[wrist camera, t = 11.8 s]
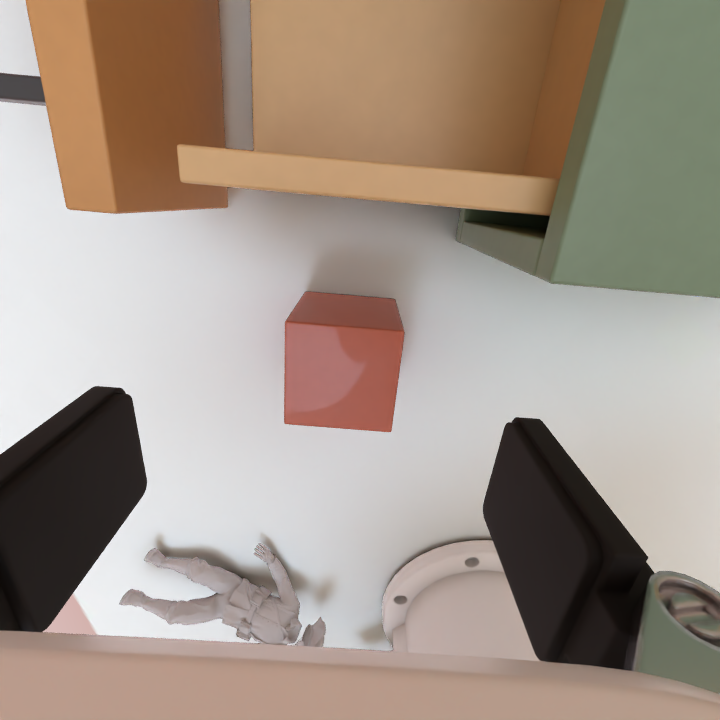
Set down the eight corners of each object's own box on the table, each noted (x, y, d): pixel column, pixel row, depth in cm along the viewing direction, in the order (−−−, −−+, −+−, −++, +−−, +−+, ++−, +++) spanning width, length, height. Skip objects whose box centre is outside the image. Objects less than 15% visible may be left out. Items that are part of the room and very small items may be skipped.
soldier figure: (172, 502, 25) (341, 583, 22) (204, 509, 29) (348, 578, 27) (96, 635, 22) (279, 748, 19) (144, 621, 26) (299, 712, 24)
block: (302, 373, 20) (283, 424, 16) (304, 290, 19) (284, 320, 14) (385, 380, 20) (391, 433, 16) (395, 298, 19) (404, 331, 14)
